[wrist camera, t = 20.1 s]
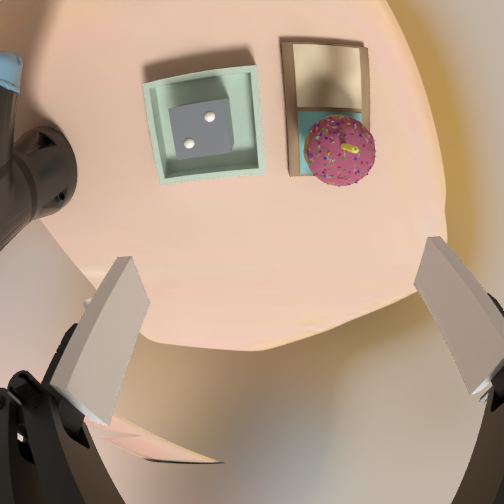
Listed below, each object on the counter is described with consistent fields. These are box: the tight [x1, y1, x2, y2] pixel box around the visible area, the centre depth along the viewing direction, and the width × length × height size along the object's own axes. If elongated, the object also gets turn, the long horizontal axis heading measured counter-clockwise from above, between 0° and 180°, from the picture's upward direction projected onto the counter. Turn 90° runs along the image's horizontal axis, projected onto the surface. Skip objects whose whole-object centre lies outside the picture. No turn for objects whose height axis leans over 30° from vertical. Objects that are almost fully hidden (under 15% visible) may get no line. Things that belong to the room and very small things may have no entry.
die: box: [168, 98, 234, 160], centre depth 29 cm, size 6×6×6 cm
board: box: [281, 42, 370, 177], centre depth 30 cm, size 11×18×1 cm, turn 5°
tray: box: [142, 65, 266, 185], centre depth 31 cm, size 14×14×3 cm
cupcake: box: [303, 115, 376, 187], centre depth 27 cm, size 9×8×12 cm
